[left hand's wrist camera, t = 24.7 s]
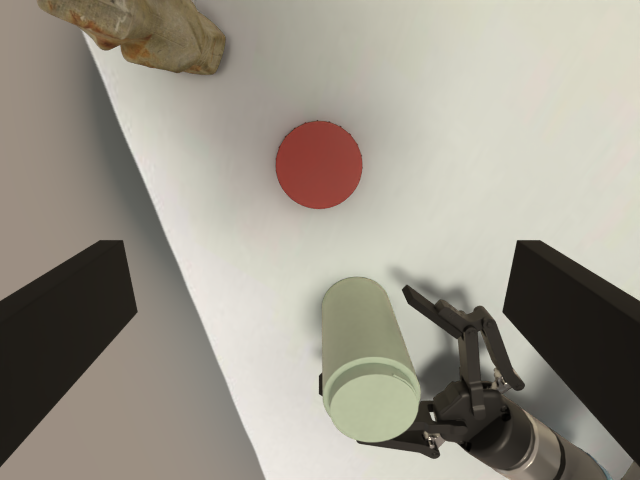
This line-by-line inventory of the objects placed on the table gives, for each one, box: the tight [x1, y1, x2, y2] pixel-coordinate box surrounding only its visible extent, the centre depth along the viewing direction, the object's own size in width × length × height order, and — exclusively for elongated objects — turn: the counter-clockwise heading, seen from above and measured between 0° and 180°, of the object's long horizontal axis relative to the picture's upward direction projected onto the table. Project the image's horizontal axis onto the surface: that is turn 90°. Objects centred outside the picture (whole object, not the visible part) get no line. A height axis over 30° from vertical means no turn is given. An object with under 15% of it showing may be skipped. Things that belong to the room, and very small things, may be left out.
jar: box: [322, 277, 421, 442], centre depth 35 cm, size 8×8×15 cm
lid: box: [276, 120, 363, 209], centre depth 36 cm, size 9×9×2 cm
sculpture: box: [37, 0, 225, 75], centre depth 26 cm, size 6×7×15 cm
